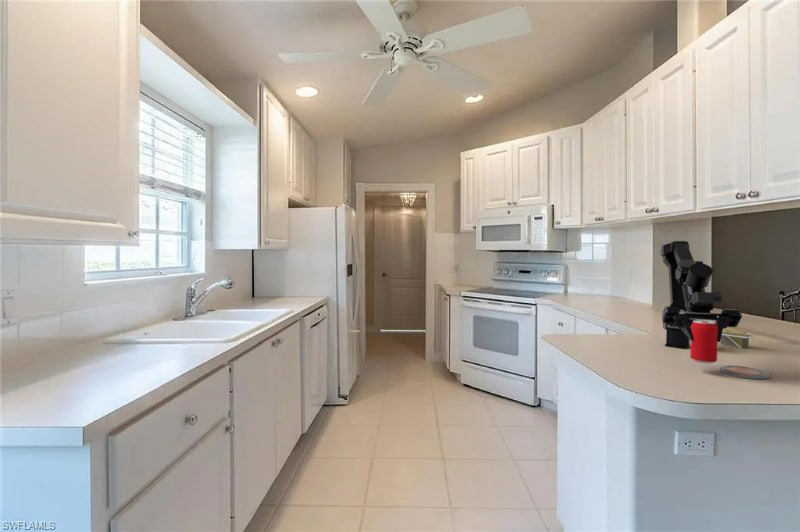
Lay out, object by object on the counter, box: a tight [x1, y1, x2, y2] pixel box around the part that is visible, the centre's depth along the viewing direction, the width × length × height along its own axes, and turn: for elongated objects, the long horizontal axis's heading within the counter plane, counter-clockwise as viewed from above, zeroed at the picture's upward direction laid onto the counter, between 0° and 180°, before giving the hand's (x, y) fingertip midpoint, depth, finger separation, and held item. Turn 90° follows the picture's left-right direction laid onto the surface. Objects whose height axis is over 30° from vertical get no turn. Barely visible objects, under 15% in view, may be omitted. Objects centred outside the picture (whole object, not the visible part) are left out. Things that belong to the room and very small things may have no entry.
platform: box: [720, 328, 754, 349], centre depth 143 cm, size 12×18×7 cm, turn 40°
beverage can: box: [689, 319, 718, 365], centre depth 115 cm, size 6×6×12 cm
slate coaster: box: [718, 364, 770, 380], centre depth 114 cm, size 11×11×1 cm
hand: (705, 340), depth 114 cm, fingers closed on beverage can, 6 cm apart
